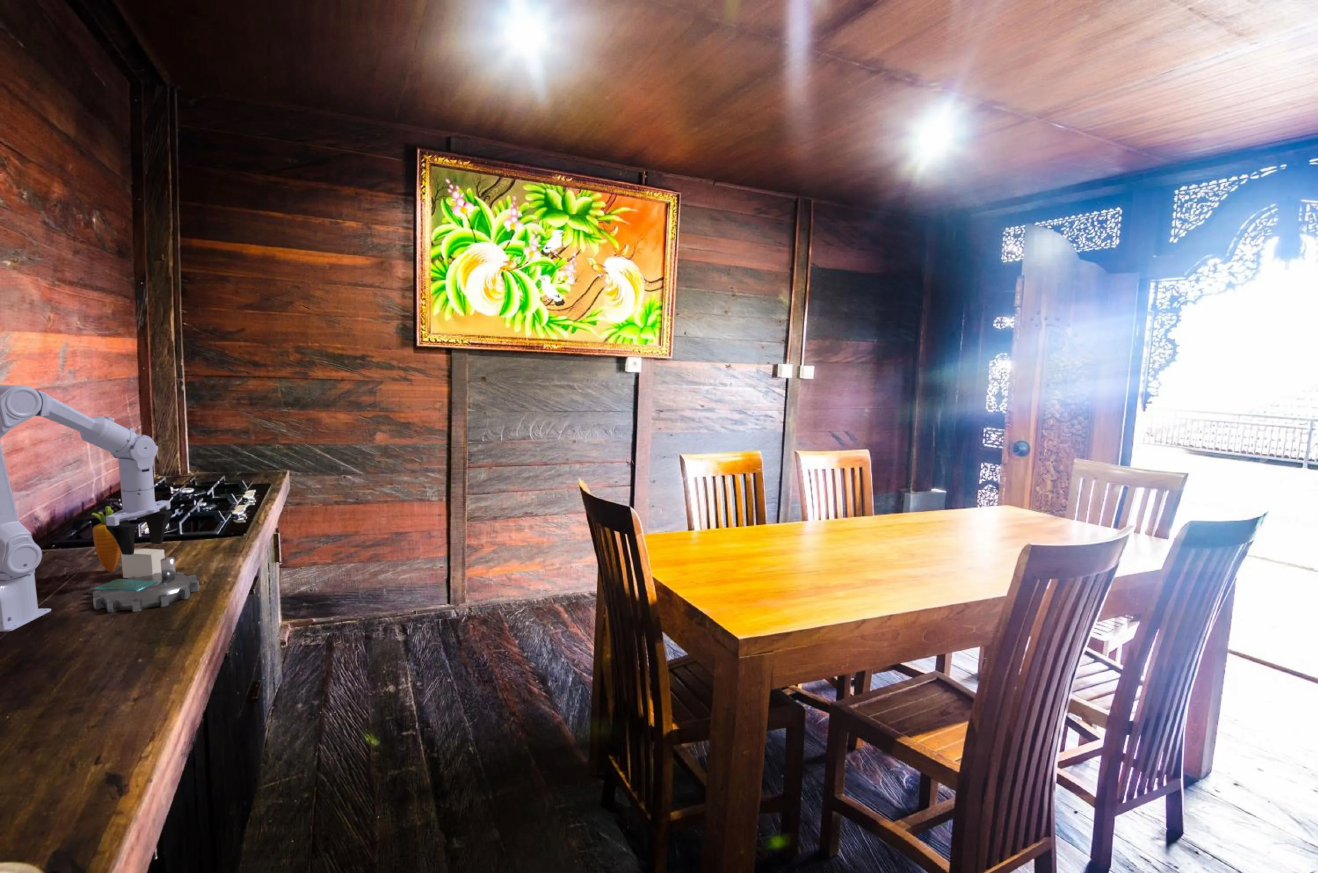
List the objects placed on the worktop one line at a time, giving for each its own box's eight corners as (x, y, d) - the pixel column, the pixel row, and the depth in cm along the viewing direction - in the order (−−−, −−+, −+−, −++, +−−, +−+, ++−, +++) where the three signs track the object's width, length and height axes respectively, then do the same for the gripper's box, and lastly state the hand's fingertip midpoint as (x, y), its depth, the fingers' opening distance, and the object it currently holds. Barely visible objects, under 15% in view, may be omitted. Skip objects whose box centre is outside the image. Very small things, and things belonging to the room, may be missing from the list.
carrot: (108, 577, 148) (102, 511, 146) (90, 575, 149) (84, 509, 147) (130, 570, 153) (125, 505, 151) (112, 567, 154) (107, 504, 152)
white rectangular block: (166, 575, 151) (164, 549, 150) (153, 581, 147) (151, 554, 146) (136, 573, 151) (134, 548, 150) (123, 579, 148) (121, 552, 147)
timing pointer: (107, 593, 140) (107, 587, 139) (101, 595, 138) (101, 590, 138) (94, 592, 140) (93, 586, 140) (88, 594, 138) (87, 589, 138)
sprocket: (99, 620, 126) (96, 589, 125) (88, 594, 138) (85, 566, 137) (208, 597, 138) (206, 569, 137) (189, 575, 150) (187, 549, 149)
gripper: (126, 497, 139) (131, 560, 141) (180, 482, 153) (185, 540, 155) (94, 495, 139) (100, 558, 141) (151, 481, 154) (156, 538, 156)
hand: (142, 548), depth 148 cm, fingers open, 7 cm apart
